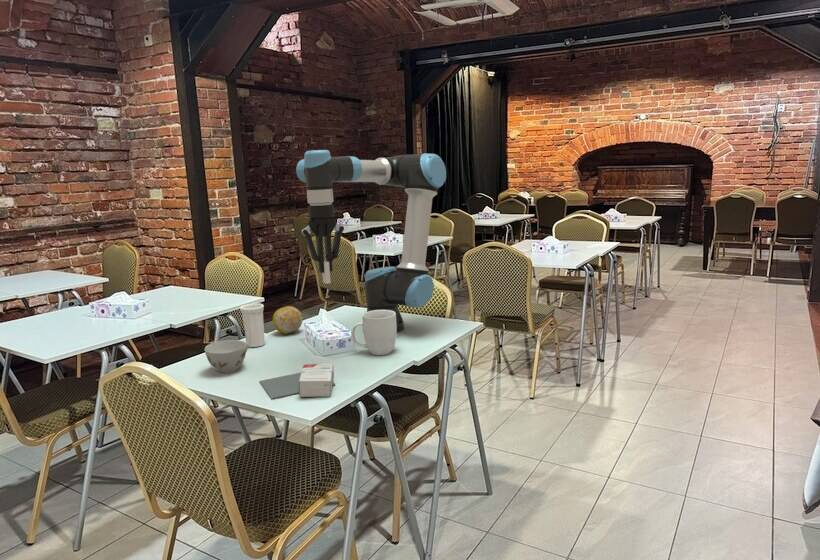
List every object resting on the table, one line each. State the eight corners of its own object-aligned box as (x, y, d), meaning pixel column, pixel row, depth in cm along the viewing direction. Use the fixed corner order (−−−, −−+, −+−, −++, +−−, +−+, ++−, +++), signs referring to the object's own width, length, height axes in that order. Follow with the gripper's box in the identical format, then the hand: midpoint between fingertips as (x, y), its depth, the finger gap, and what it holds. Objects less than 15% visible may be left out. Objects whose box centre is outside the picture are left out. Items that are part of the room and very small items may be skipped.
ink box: (304, 378, 167) (298, 398, 156) (303, 362, 165) (297, 381, 154) (334, 378, 167) (331, 397, 156) (333, 362, 166) (330, 380, 155)
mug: (351, 359, 185) (349, 319, 182) (353, 348, 196) (351, 311, 193) (398, 356, 185) (396, 317, 183) (397, 346, 196) (395, 308, 194)
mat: (318, 370, 177) (318, 368, 177) (335, 385, 163) (335, 384, 163) (259, 382, 169) (259, 380, 169) (271, 399, 156) (271, 398, 156)
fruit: (268, 334, 217) (266, 308, 215) (291, 327, 225) (289, 302, 223) (285, 339, 210) (283, 312, 208) (308, 331, 218) (306, 306, 216)
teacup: (226, 379, 172) (223, 354, 170) (198, 373, 179) (195, 348, 177) (263, 363, 185) (260, 339, 183) (235, 358, 191) (233, 335, 189)
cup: (250, 350, 199) (246, 310, 196) (240, 345, 205) (235, 306, 202) (271, 344, 204) (267, 305, 201) (261, 340, 210) (257, 302, 207)
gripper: (337, 202, 176) (342, 278, 181) (295, 205, 170) (302, 283, 175) (346, 203, 169) (351, 281, 174) (302, 206, 164) (309, 287, 168)
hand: (326, 282), depth 174 cm, fingers closed
